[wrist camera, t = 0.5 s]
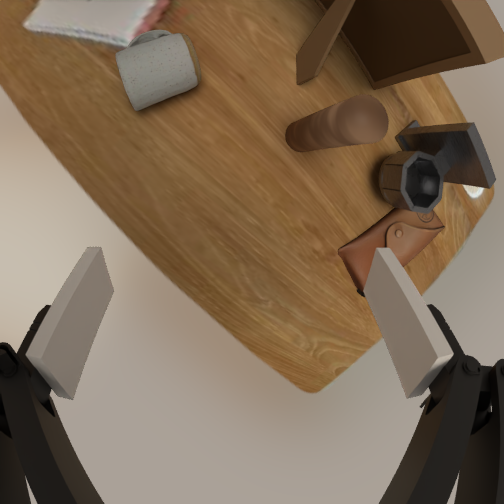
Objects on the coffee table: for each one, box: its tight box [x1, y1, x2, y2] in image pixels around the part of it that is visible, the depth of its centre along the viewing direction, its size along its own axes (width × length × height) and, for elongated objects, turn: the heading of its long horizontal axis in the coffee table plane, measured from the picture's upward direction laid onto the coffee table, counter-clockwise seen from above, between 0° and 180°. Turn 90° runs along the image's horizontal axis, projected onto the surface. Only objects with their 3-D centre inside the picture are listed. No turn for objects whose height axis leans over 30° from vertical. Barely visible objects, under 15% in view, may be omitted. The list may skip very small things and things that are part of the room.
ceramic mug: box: [116, 30, 201, 111], centre depth 27 cm, size 11×8×8 cm
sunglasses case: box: [338, 208, 445, 297], centre depth 41 cm, size 18×7×7 cm
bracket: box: [378, 120, 496, 214], centre depth 32 cm, size 14×8×14 cm, turn 130°
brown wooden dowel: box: [285, 94, 388, 152], centre depth 28 cm, size 4×4×16 cm
